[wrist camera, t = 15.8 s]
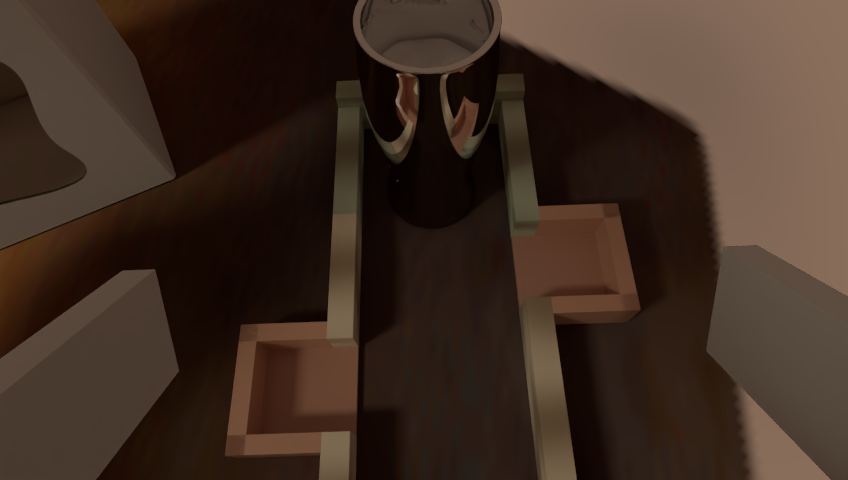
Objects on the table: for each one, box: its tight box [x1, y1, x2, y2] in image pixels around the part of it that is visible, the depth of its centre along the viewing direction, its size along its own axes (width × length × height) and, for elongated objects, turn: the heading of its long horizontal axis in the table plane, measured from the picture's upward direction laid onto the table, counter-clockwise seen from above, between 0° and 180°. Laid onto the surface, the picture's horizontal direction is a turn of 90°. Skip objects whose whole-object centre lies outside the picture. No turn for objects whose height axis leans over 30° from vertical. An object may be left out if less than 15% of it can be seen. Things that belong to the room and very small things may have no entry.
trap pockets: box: [225, 203, 641, 458], centre depth 31 cm, size 14×23×2 cm, turn 92°
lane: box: [319, 73, 577, 480], centre depth 31 cm, size 31×13×4 cm, turn 2°
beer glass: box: [353, 0, 502, 229], centre depth 29 cm, size 7×7×15 cm
